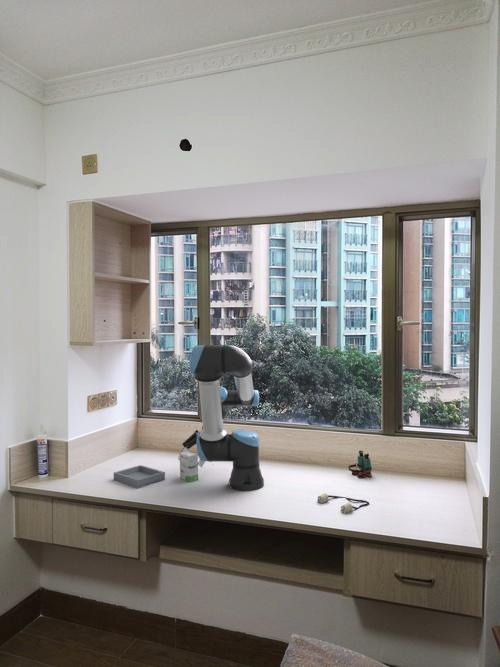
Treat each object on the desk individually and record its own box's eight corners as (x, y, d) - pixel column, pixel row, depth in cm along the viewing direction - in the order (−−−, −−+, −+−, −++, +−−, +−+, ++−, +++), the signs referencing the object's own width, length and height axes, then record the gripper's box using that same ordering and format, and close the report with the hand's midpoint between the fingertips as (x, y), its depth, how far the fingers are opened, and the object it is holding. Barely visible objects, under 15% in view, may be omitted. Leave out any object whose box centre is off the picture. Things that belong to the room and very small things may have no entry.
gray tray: (164, 479, 237) (164, 472, 237) (137, 488, 226) (137, 480, 226) (140, 472, 249) (140, 465, 249) (113, 480, 238) (113, 472, 238)
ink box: (199, 480, 236) (198, 454, 235) (189, 482, 233) (189, 456, 232) (188, 475, 243) (188, 450, 242) (179, 478, 239) (178, 452, 239)
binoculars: (344, 453, 240) (362, 449, 244) (346, 475, 241) (364, 471, 244) (355, 458, 232) (373, 453, 235) (357, 481, 232) (376, 476, 236)
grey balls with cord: (342, 494, 215) (342, 486, 215) (373, 506, 202) (373, 497, 202) (314, 503, 206) (314, 494, 206) (345, 515, 193) (345, 506, 193)
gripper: (235, 432, 243) (212, 472, 232) (198, 425, 260) (176, 462, 249) (227, 423, 239) (203, 463, 228) (190, 416, 255) (167, 454, 245)
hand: (189, 463), depth 239 cm, fingers open, 13 cm apart
